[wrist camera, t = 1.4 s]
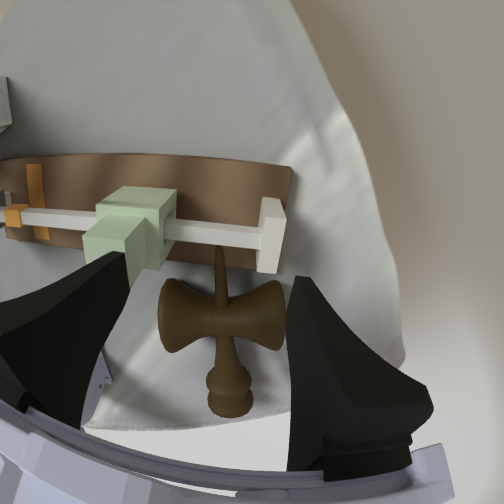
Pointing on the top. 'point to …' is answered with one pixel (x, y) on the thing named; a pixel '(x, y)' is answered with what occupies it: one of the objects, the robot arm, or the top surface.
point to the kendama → (223, 331)
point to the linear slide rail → (171, 228)
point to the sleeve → (132, 228)
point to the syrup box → (4, 105)
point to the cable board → (146, 175)
